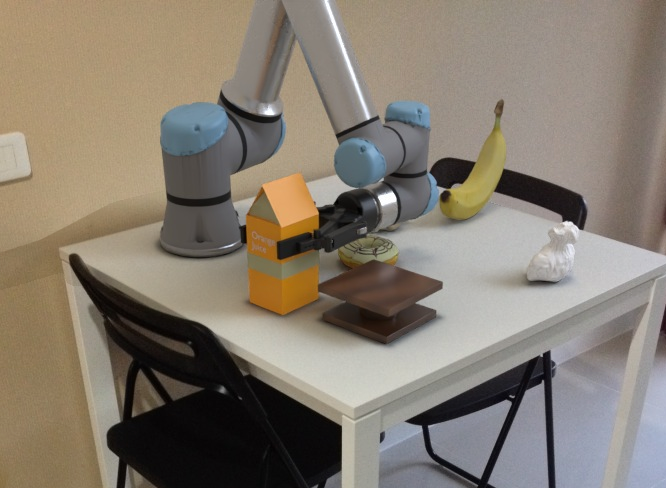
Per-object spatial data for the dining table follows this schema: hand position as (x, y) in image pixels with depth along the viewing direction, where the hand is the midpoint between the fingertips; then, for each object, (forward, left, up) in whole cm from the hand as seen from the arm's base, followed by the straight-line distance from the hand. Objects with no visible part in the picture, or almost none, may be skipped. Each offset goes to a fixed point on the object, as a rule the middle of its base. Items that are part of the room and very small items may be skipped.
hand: (260, 242), depth 152 cm
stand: (+17, +10, -11) cm, 22 cm away
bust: (+29, +43, -11) cm, 53 cm away
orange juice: (+1, +5, -11) cm, 12 cm away
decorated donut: (+1, +27, -11) cm, 29 cm away
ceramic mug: (-9, +44, -11) cm, 46 cm away
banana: (0, +61, -11) cm, 62 cm away
